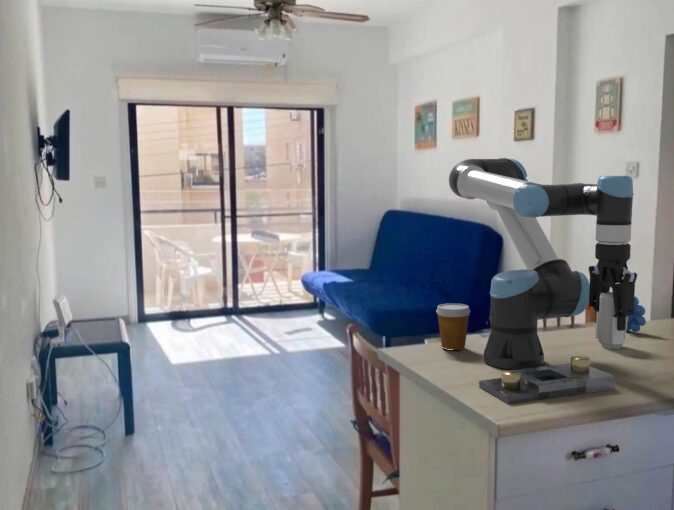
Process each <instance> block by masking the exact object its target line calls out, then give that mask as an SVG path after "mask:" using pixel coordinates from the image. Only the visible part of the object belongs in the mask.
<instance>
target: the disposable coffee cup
mask: <svg viewBox="0 0 674 510" xmlns="http://www.w3.org/2000/svg"><path fill="white" fill-rule="evenodd" d="M435 311H436V314H437V320H438V326H439V335H440V343H441V348H442V347H444V348H447V349H453V350H461V351H463V350H462V349H464V348H465V347H466V339H467V333H468V327H469V326H468V323H469V317H470V313H471V310H470V307H469V305H467V304H463V303H444V304H443V303H441V304H438V305H437V309H436V310H435ZM464 350H465V349H464Z"/></svg>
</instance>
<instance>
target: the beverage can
mask: <svg viewBox="0 0 674 510" xmlns="http://www.w3.org/2000/svg"><path fill="white" fill-rule="evenodd" d="M613 315H616V314H615V307H614V299H613V292H612V291H609V292H606V293H603V292H602V293H601V295H600V307H599V336H598V343H599V344H600V345H601V344H603V345H608V346H616V345H618V344H612V321H613Z"/></svg>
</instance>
